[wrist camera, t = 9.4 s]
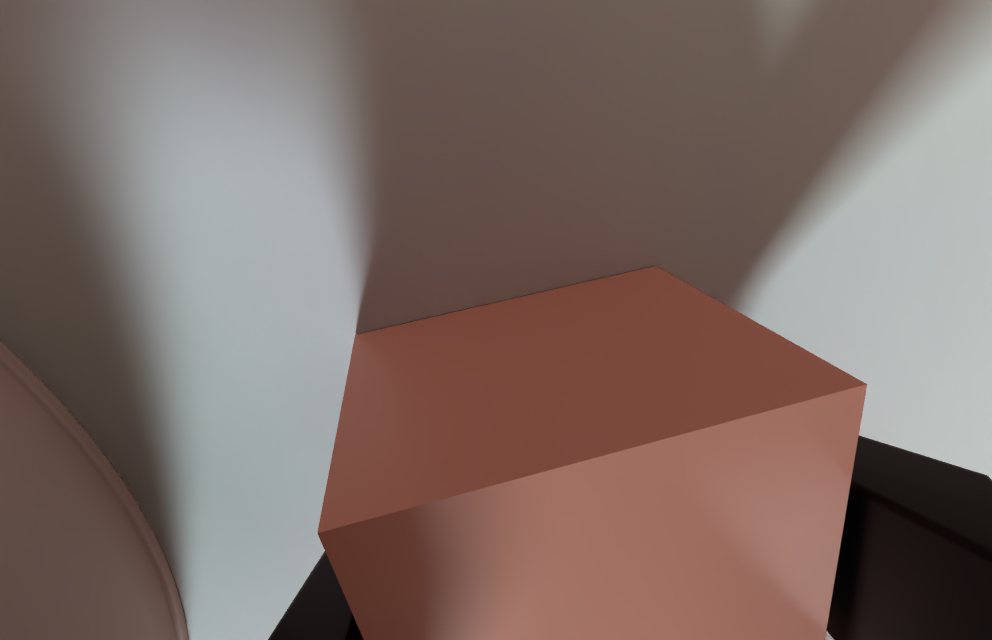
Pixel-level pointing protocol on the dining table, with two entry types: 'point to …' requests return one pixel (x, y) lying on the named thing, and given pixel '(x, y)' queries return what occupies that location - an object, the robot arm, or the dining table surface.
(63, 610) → the kettle
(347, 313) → the dining table surface
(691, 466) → the terracotta brick
